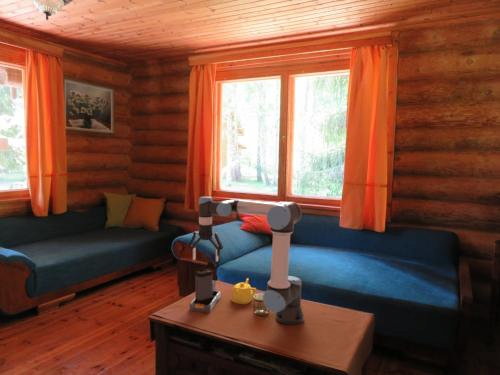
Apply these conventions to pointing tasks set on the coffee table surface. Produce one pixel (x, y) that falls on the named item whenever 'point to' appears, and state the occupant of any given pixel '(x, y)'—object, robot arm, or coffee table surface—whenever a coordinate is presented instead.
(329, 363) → the coffee table surface
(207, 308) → the rack
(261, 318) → the coffee table surface
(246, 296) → the teapot
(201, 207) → the robot arm
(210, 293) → the electronic device
